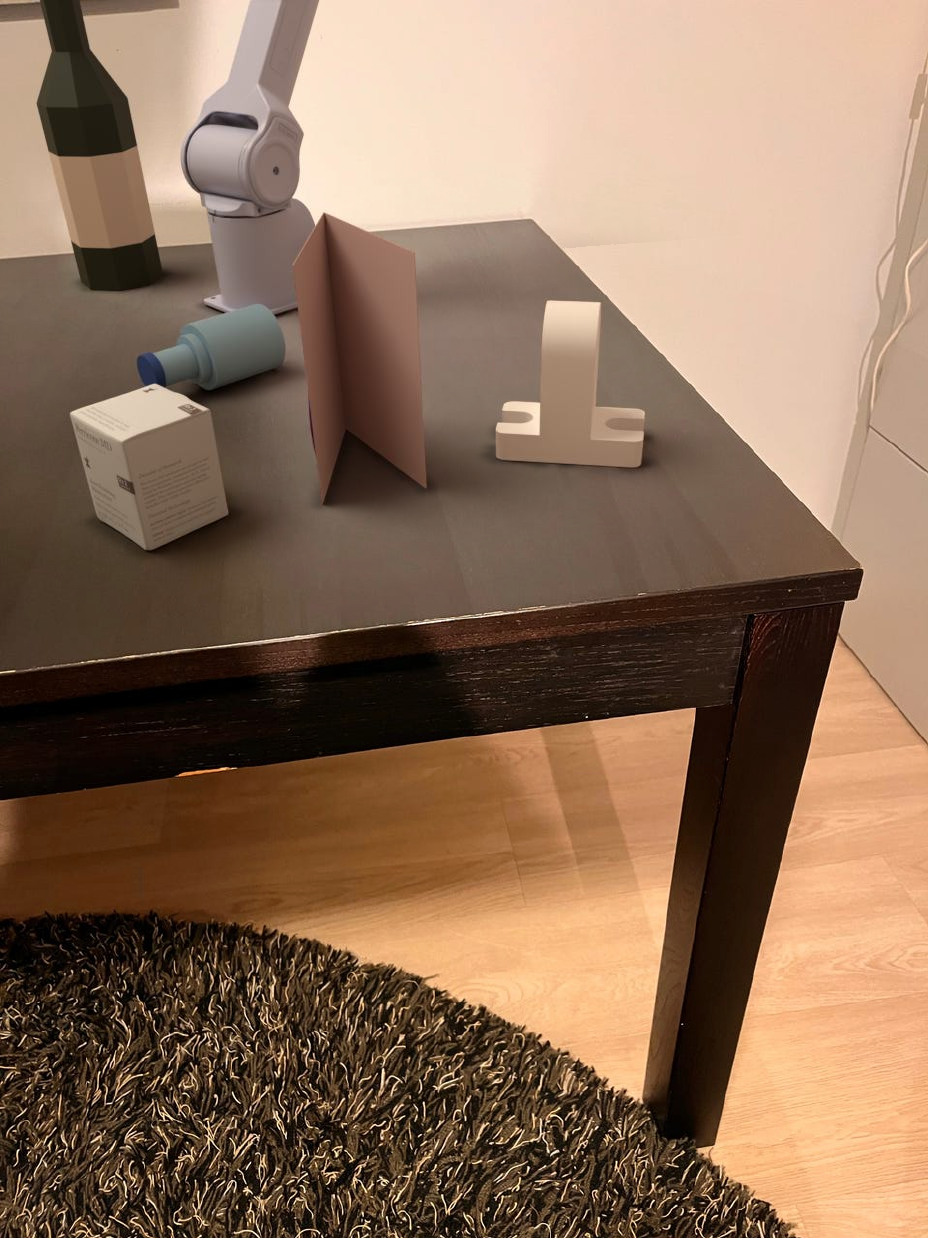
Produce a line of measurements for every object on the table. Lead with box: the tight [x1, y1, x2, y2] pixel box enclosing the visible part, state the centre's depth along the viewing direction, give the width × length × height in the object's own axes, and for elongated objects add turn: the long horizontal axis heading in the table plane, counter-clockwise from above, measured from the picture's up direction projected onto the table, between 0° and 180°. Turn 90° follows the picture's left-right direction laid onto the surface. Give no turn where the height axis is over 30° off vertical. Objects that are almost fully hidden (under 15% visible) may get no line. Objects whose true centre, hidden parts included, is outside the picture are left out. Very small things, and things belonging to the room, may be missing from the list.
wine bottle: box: [36, 0, 164, 292], centre depth 94 cm, size 8×8×30 cm
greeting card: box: [293, 212, 427, 505], centre depth 62 cm, size 11×7×15 cm, turn 178°
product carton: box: [69, 384, 229, 551], centre depth 59 cm, size 6×6×7 cm
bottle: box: [136, 304, 287, 391], centre depth 77 cm, size 5×5×11 cm
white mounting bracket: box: [495, 300, 646, 468], centre depth 65 cm, size 5×10×10 cm, turn 80°
